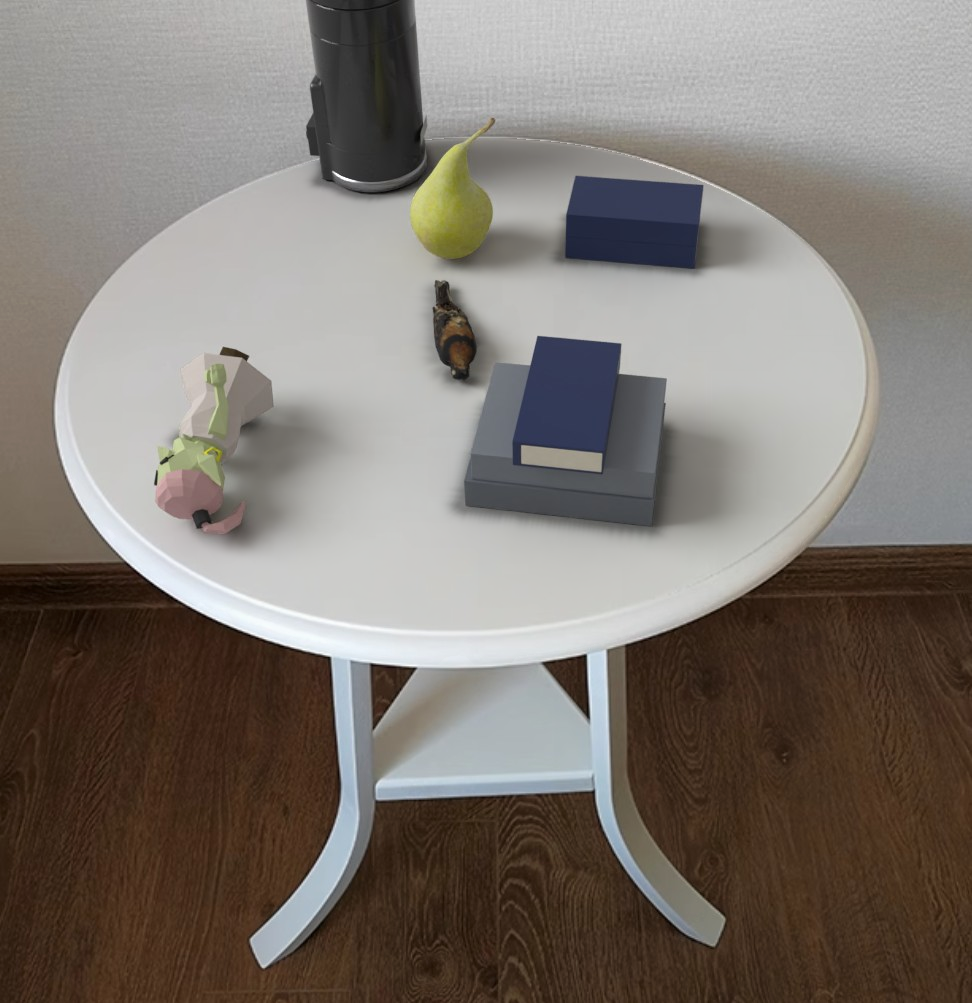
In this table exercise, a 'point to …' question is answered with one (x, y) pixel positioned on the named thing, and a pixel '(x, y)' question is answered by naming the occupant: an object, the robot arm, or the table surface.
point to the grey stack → (568, 493)
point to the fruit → (452, 206)
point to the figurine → (210, 436)
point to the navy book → (567, 405)
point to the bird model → (452, 333)
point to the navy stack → (633, 221)
